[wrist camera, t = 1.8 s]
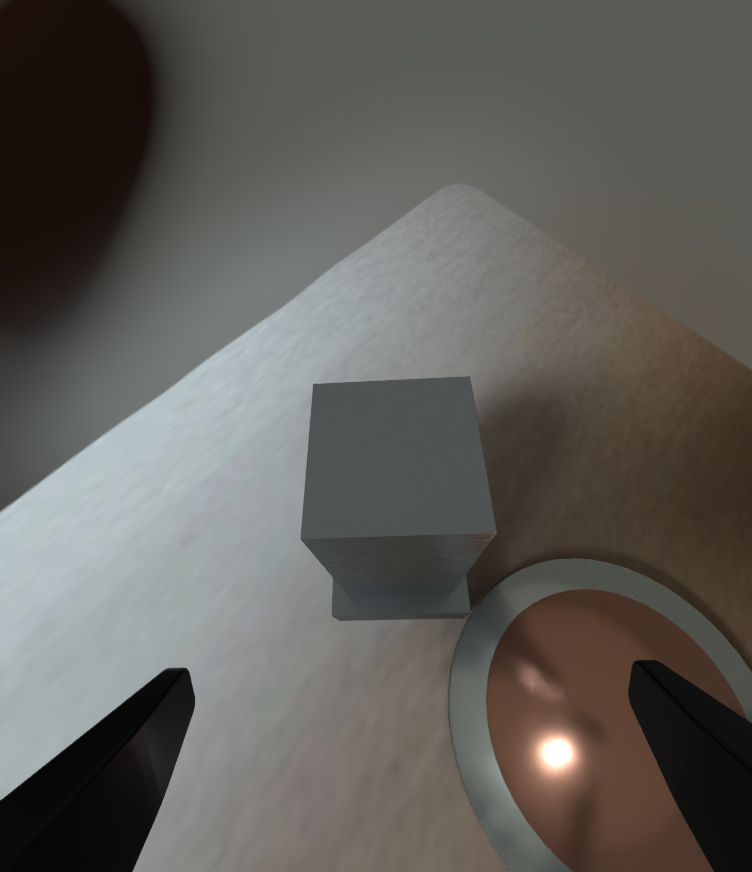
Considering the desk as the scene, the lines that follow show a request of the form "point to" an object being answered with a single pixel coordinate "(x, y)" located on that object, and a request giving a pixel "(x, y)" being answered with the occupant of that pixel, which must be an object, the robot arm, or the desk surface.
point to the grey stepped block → (397, 496)
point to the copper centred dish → (578, 716)
